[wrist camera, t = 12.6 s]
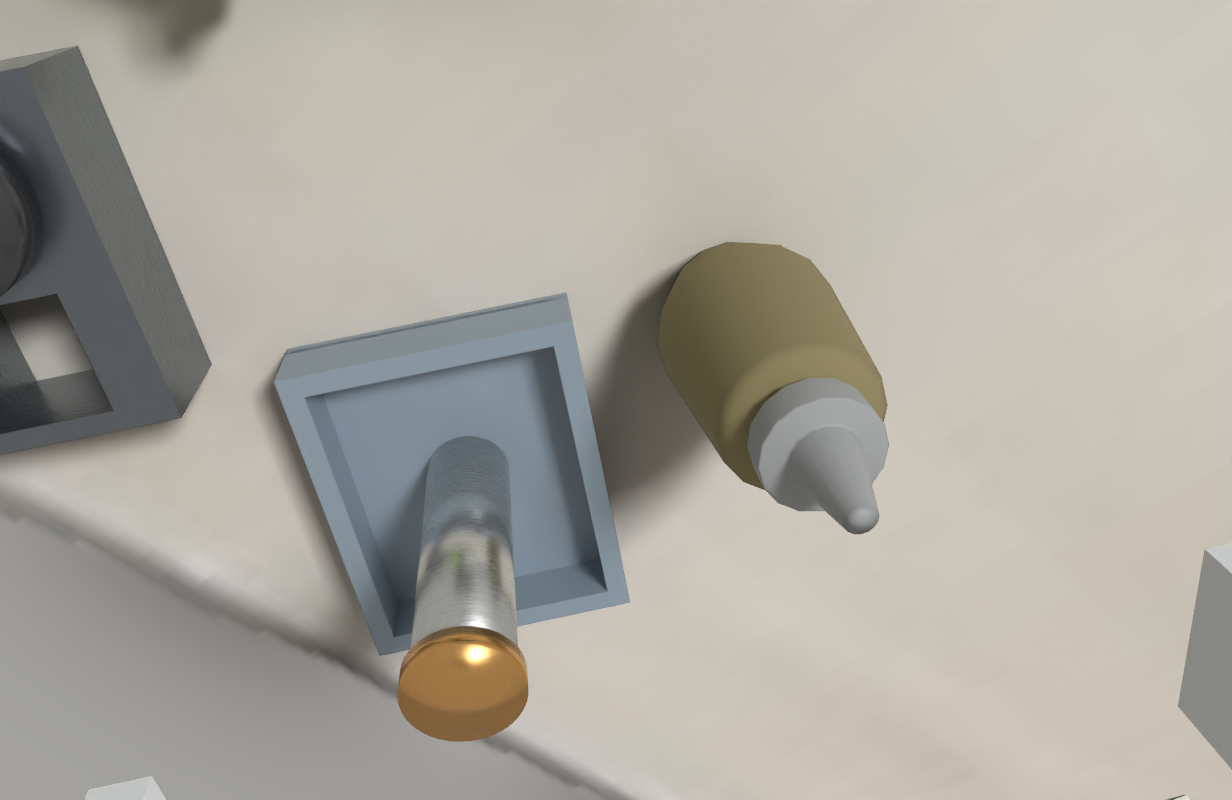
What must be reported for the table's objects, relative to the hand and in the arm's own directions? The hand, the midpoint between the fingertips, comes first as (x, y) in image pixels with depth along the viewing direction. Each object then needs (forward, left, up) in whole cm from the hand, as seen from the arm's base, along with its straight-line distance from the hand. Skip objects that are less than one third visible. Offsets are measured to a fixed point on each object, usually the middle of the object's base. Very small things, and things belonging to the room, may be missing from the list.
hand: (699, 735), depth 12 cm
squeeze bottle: (+9, +7, -33) cm, 35 cm away
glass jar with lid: (+15, -7, -32) cm, 36 cm away
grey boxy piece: (0, -22, -33) cm, 39 cm away
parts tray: (+15, -7, -33) cm, 37 cm away
